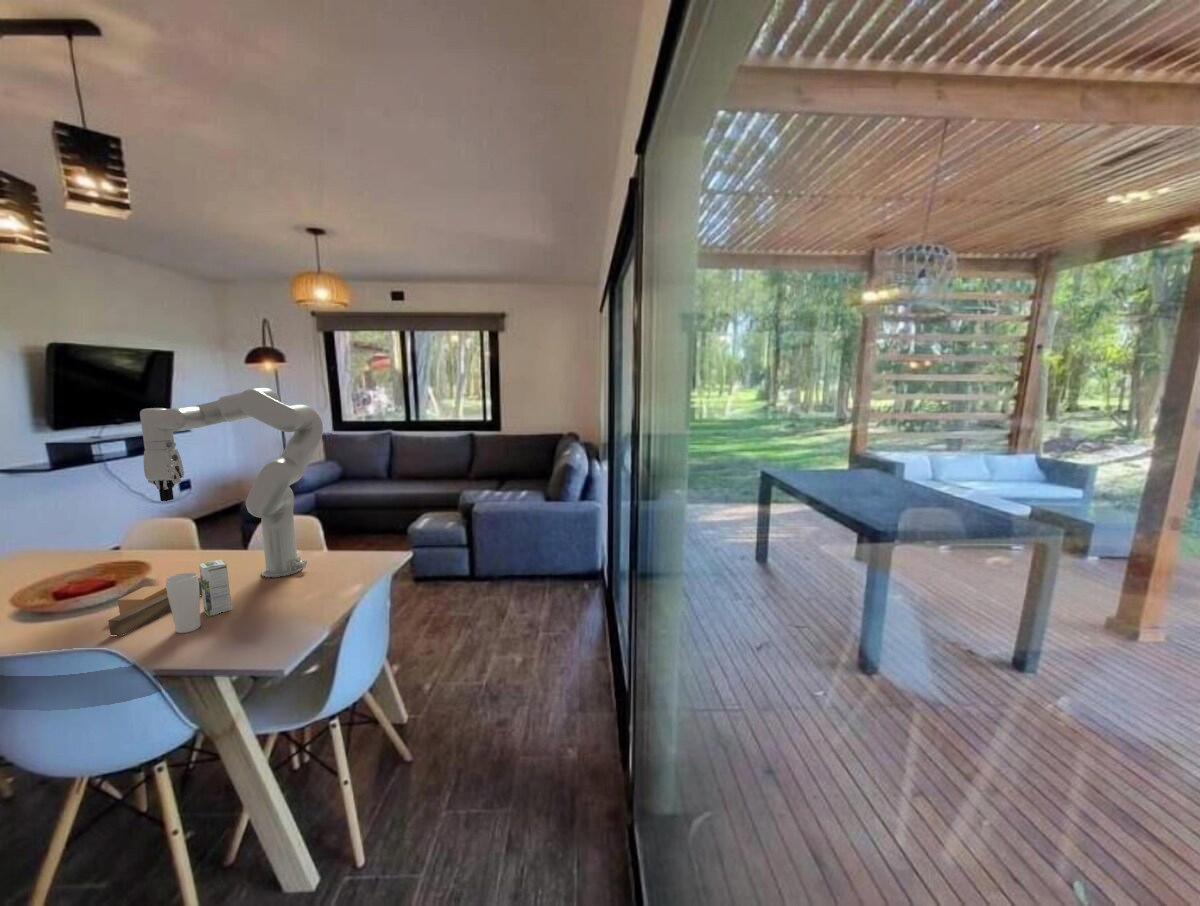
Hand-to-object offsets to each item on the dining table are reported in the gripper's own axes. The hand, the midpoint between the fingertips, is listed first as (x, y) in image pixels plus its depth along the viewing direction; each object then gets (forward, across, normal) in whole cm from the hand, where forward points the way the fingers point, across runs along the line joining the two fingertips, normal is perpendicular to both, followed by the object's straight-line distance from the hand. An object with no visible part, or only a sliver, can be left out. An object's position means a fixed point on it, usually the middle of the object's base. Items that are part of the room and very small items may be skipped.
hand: (167, 500), depth 169 cm
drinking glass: (+27, -35, +33) cm, 55 cm away
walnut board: (+27, -19, +24) cm, 41 cm away
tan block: (+27, -14, +24) cm, 39 cm away
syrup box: (+27, -34, +22) cm, 49 cm away
